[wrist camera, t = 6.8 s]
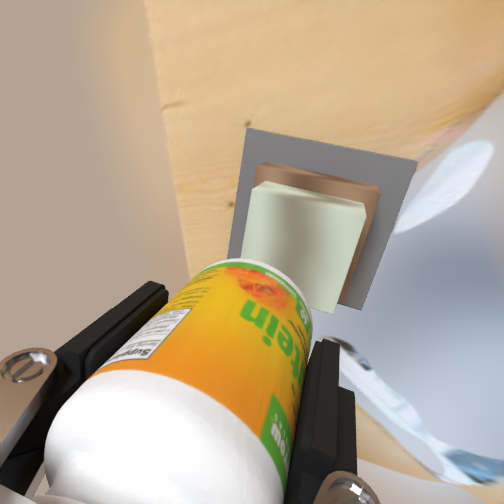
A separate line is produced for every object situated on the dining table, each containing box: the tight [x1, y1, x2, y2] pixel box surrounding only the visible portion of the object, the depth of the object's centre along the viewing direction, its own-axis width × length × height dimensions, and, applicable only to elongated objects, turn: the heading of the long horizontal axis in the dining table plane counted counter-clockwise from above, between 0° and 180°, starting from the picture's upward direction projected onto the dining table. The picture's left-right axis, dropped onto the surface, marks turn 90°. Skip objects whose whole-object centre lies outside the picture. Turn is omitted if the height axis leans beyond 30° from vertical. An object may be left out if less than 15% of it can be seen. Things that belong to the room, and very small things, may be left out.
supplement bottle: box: [29, 258, 313, 504], centre depth 8 cm, size 5×5×10 cm
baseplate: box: [227, 128, 418, 310], centre depth 30 cm, size 15×15×1 cm
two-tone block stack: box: [240, 161, 381, 314], centre depth 26 cm, size 10×10×8 cm
